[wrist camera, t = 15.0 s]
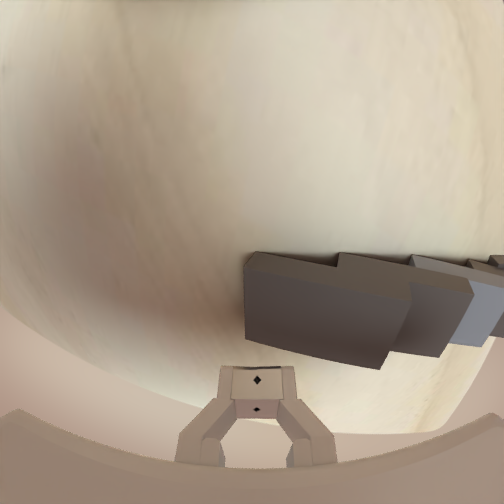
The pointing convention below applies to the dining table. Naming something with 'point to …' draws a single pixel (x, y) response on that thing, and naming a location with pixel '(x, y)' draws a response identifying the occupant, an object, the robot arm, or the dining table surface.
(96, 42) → the dining table surface
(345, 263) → the domino
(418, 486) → the robot arm
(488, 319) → the domino
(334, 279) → the domino
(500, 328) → the domino
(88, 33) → the dining table surface
